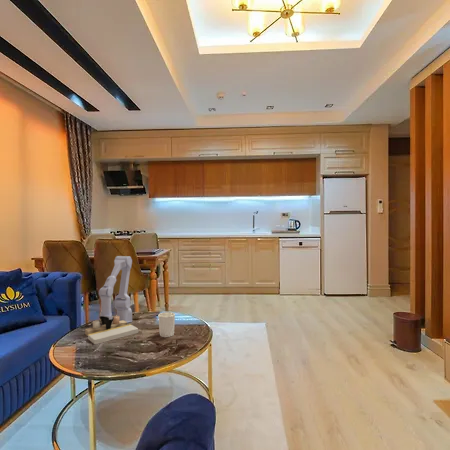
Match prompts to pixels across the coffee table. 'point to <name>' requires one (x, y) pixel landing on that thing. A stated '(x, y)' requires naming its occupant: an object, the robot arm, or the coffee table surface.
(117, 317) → the cylinder
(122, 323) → the beige long bar
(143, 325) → the coffee table surface
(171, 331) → the candle holder
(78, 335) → the coffee table surface
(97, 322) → the taupe tapered cylinder
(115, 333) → the dock
